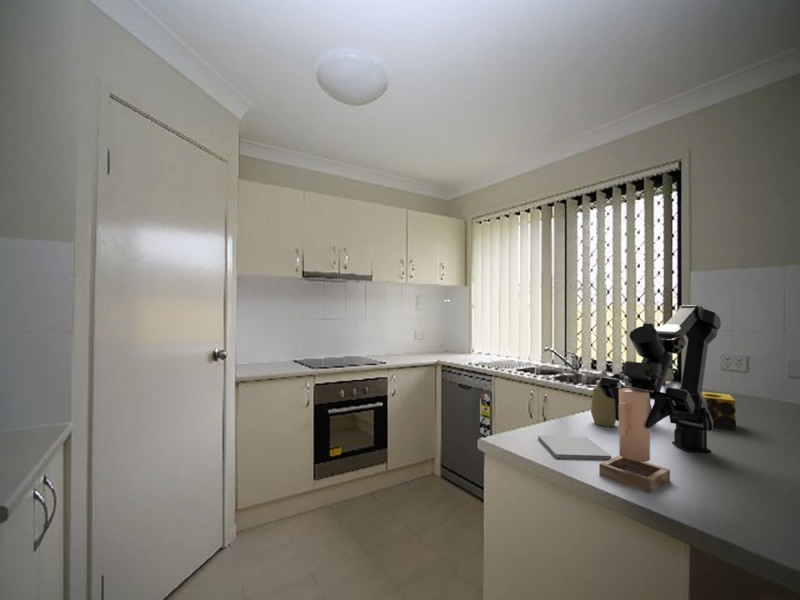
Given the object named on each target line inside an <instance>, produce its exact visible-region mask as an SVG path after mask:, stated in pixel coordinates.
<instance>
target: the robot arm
mask: <svg viewBox="0 0 800 600" xmlns="http://www.w3.org/2000/svg"><path fill="white" fill-rule="evenodd" d="M721 324H722V321H721V318H720V316H719V315H718V314H717V313H716V312H715V311H712V310H709V309H705V308H704V307H703V306H702V305H699V304H682V305H679V306H678V308H677V311H675V313H674V314H673V315H672V316H671V318H669V319H668V321H667V322H666V323H665V324H663V325H659V326H654V323H651V322H649V323H648V322H646V323H645V322H644V323H643V324H642V325H641V326H638V327H636V328H634V329H633V330H631V331H630V332H629V334H628V335H629V339H630V340H631V341H630V342H632V345H633V348H634V349H635V351H636V352H637V355H638V356H639V357H641V358H642V359H641V362H638V361H629V360H626V361H625V362H624V367H623V371H622V374H623V375H626V376H627V377H628V382H629V383H631V384H632V385H631V386H625V384H623V383H621V380H620V379H615V378H611V377H609V376H607V377H602V378H601V379H600V378H599V380H600V381H599V386H600V388H601V389H602V391H603V393H604V394H605V396H606V397H608V398H612V399H614V400H615V419H616V422H619V389H621V388H633V389H641V390H645V391H648V392H649V399H650V400H652V401H653V405H652V406H651V407H652V410H651V412H650V414H649V416H648V418H647V421H646V425H645V426H646V428H648V429H649V428H650V429H651V428H652V427H653V426H654V425H656V424H657V423H659V422H660V421H662V420H664V419H666V418H667V417H669V421H670V424H675V428H674V432H673V433H674V440H673V441H671V444H673V445H675V446H677V447H679V448H680V449H682V450H684V451H686V452H692V453H693V452H696V453H712V449H710V448H708V442H707V439H708V438H707V434H708V433H707V432H708V431H710V432H713V431H714V428H713V419H712V417H711V415H710V412H709V410H708V409H707V407H708V404H707V402H706V400H705V398H704V397H703V395H702V392H703V387H704V386H703V385H704V384H703V383H704V377H705V370H706V363H707V356H708V349H709V344H710V343H711V342H713V340H714V339H716V337H717V335H718V331H719V330H720V328H721V326H722V325H721ZM685 337H686V338H687V341H686V339H685ZM686 343H687V344H686ZM685 346H686V351H685V358H684V366H683V371H682V379H681V384H680V388H676V387H672V386H669V387H666V384H667V381H666V377H667V375H668V372H669V370H670V369H673V363H672V361H673V357H672V356H671V354H676V355H677V354H679V353H681V352H682V351H683V349H684V348H685ZM663 387H666V388H665V392H664V391H663V392H661V391H662V388H663ZM702 423H703V424H702Z"/></svg>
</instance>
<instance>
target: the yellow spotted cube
mask: <svg viewBox="0 0 800 600" xmlns="http://www.w3.org/2000/svg"><path fill="white" fill-rule="evenodd" d="M702 395H703V397H704V398H705V400H706V402H707V404H708V407H707V409H708V410H709V412H710V415H711V417H712V419H713V429H714V428H715V429H722V430H726V431H727V430H728V431H737V420H736V419H737V418H736V410H737V409H736V399H734V397H732V395H731V394H728V393H718V392H709V391H708V392H707V391H702ZM702 424H703V423H702Z"/></svg>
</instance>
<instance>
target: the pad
mask: <svg viewBox="0 0 800 600" xmlns="http://www.w3.org/2000/svg"><path fill="white" fill-rule="evenodd" d="M537 438H538V441H539V442H540V443H541V444H543V446H544V447H545V448H546V449H547V450H548V451H549V452H550V453H551V455H552V456H553V457H554V458H555V459H571V460H572V459H575V458H578V459H577V460H603V459H612V455H610V453H608V452H607V451H605V450H604V449H603V448H601V446H599V445H598V444H597V443H595V442H594V441H592V440H591V439H590V438H589V437H587V436H575V435H573V436H572V435H570V436H569V435H568V436H566V435H538V437H537ZM575 460H576V459H575Z"/></svg>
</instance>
